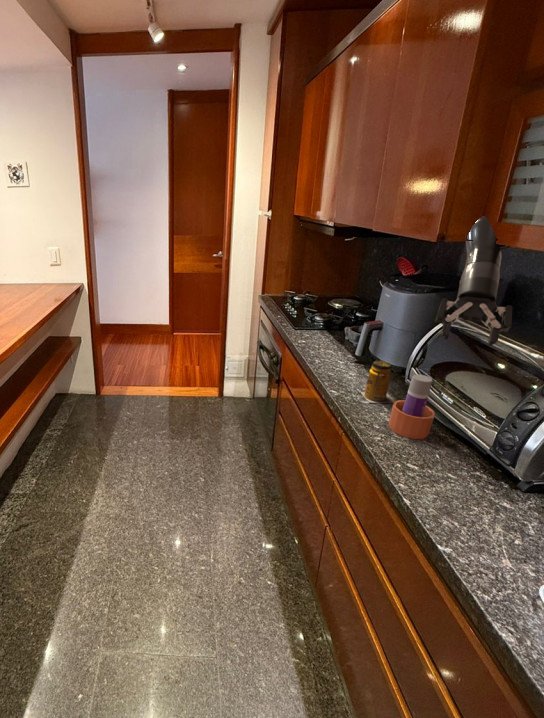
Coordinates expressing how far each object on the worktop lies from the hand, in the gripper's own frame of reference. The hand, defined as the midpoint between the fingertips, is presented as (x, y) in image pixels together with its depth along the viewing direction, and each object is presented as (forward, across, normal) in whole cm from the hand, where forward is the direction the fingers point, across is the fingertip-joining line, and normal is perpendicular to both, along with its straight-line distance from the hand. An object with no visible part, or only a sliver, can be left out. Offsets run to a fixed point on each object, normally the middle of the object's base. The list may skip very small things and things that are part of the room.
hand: (468, 340), depth 92 cm
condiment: (+8, -16, +32) cm, 37 cm away
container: (+18, -7, +21) cm, 29 cm away
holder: (+18, -7, +22) cm, 29 cm away
